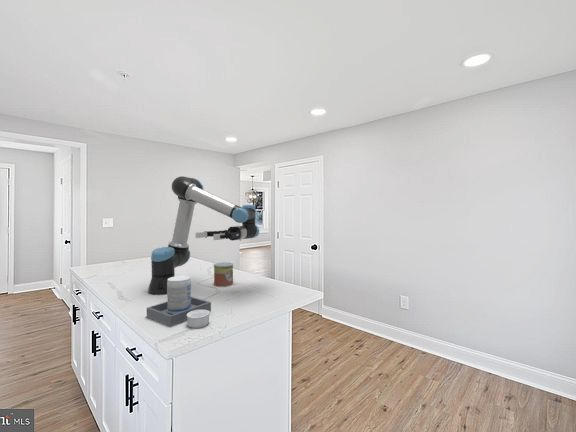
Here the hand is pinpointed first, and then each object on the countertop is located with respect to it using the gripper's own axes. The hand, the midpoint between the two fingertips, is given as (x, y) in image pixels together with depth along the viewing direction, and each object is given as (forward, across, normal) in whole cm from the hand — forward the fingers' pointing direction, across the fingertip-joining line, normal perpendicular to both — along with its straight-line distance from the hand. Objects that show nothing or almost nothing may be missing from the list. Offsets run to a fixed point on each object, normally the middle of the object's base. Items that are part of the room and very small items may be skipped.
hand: (204, 236), depth 136 cm
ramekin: (+18, -19, -33) cm, 42 cm away
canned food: (-27, +17, -33) cm, 46 cm away
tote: (+16, -4, -32) cm, 36 cm away
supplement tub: (+16, -3, -32) cm, 36 cm away
